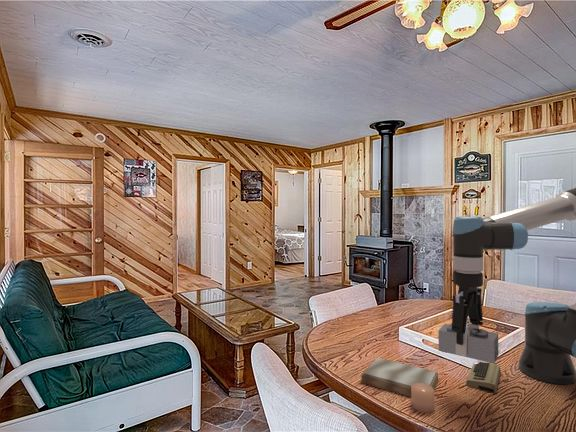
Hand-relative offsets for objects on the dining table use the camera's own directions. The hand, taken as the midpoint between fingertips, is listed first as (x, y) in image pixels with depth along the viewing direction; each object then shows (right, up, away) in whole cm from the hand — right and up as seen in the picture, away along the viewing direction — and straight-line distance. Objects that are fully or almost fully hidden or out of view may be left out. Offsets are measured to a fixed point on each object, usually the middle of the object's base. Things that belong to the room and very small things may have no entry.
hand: (467, 350), depth 98 cm
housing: (0, 0, 0) cm, 1 cm away
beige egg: (-14, -14, -2) cm, 20 cm away
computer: (+12, -14, +12) cm, 22 cm away
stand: (-16, -14, +11) cm, 24 cm away
